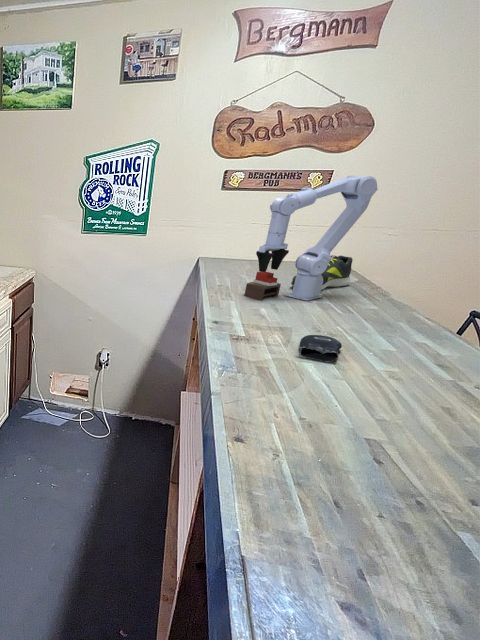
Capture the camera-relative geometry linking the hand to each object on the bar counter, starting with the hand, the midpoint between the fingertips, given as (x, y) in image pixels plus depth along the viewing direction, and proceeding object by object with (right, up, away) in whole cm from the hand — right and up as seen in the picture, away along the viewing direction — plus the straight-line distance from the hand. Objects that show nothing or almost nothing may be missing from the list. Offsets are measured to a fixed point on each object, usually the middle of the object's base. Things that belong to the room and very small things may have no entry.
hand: (268, 270), depth 169 cm
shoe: (+1, -4, +4) cm, 6 cm away
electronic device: (-13, -31, -45) cm, 56 cm away
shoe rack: (+1, -9, +6) cm, 11 cm away
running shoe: (+31, -3, +19) cm, 37 cm away
